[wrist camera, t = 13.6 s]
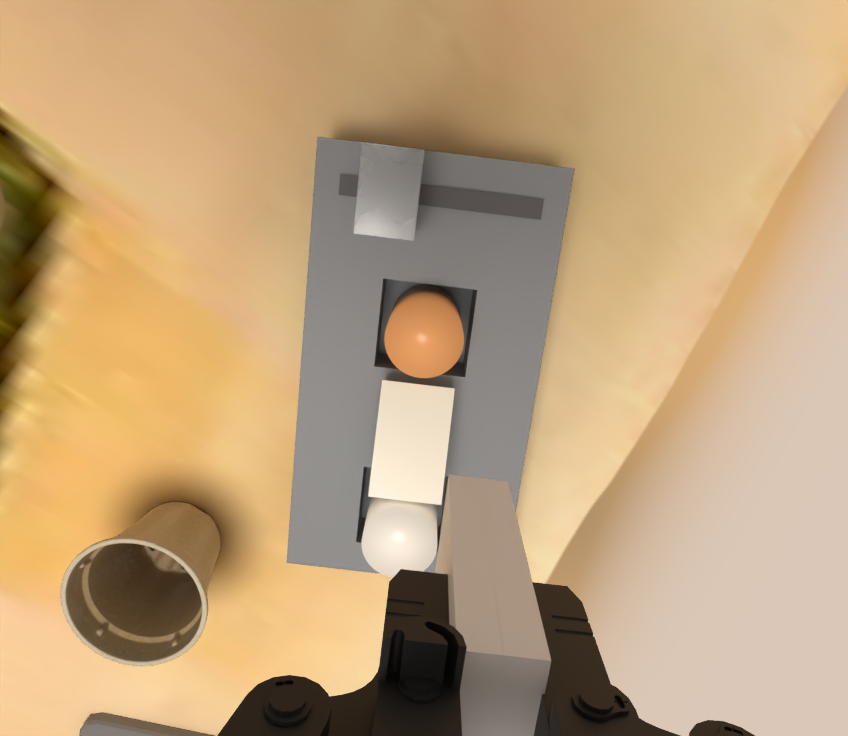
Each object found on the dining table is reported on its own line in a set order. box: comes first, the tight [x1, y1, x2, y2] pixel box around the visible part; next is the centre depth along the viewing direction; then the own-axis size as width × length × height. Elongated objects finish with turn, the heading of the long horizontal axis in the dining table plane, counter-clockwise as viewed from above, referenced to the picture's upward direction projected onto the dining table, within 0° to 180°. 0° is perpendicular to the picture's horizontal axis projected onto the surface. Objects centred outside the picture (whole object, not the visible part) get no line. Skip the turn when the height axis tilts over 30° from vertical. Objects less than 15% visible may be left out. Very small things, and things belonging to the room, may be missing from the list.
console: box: [287, 137, 574, 573], centre depth 44 cm, size 15×28×6 cm, turn 173°
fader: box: [354, 142, 425, 241], centre depth 37 cm, size 3×5×4 cm
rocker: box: [368, 380, 455, 505], centre depth 41 cm, size 4×7×1 cm, turn 173°
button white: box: [361, 497, 437, 578], centre depth 43 cm, size 5×5×6 cm
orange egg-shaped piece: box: [384, 285, 464, 378], centre depth 42 cm, size 5×5×6 cm
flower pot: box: [61, 502, 221, 666], centre depth 47 cm, size 9×9×9 cm
